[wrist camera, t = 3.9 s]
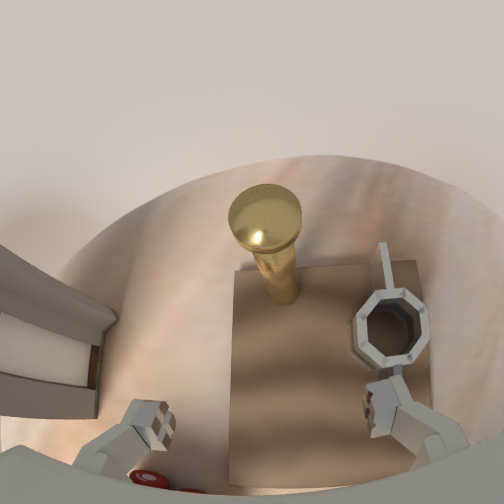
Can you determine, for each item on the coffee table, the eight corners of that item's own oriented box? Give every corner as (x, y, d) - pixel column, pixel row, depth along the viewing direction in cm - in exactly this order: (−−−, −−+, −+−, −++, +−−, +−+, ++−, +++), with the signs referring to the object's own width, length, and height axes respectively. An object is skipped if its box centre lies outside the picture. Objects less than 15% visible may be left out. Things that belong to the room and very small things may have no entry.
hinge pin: (305, 311, 27) (303, 243, 15) (263, 313, 28) (226, 248, 15) (303, 272, 29) (298, 181, 16) (263, 274, 29) (230, 187, 17)
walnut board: (422, 467, 18) (426, 470, 17) (231, 481, 22) (228, 484, 21) (412, 264, 28) (415, 259, 27) (237, 275, 31) (234, 270, 30)
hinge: (413, 407, 21) (434, 410, 16) (349, 416, 22) (359, 423, 17) (399, 262, 27) (414, 240, 23) (342, 266, 28) (348, 244, 24)
